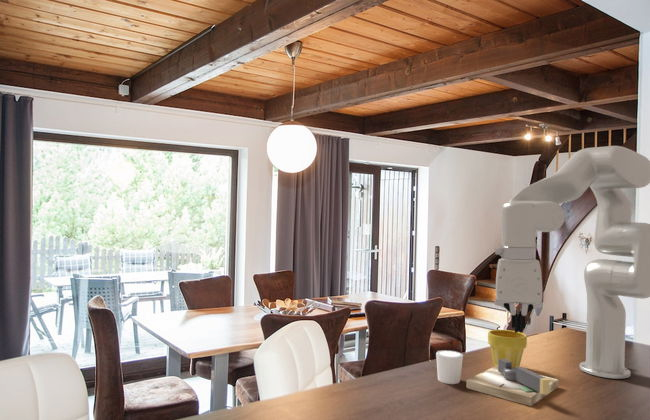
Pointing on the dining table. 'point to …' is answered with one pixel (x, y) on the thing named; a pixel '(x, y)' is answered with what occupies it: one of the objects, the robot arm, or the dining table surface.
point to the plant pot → (507, 346)
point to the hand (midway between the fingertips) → (518, 330)
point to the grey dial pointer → (523, 376)
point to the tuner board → (507, 387)
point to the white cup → (449, 366)
